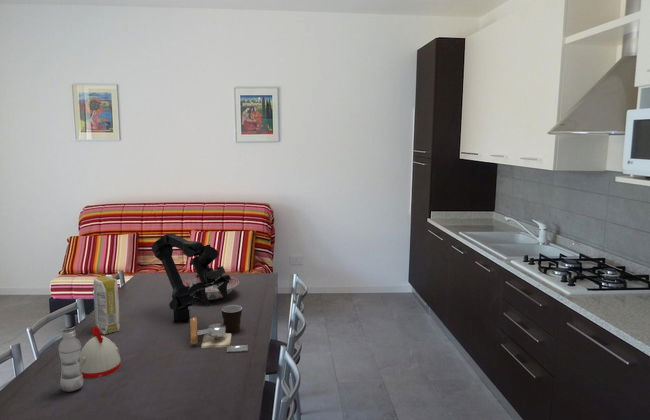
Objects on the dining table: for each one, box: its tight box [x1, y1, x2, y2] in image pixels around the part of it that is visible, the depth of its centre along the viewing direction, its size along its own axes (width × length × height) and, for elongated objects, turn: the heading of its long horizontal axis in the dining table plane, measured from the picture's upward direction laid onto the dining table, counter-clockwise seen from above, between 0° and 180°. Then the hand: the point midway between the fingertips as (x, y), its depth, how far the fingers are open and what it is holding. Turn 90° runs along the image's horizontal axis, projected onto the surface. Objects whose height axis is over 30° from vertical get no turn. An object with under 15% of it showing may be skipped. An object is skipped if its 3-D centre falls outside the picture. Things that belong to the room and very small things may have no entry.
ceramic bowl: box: [182, 275, 240, 301], centre depth 242 cm, size 29×29×8 cm
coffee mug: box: [221, 304, 243, 335], centre depth 201 cm, size 12×9×10 cm
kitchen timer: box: [80, 325, 122, 379], centre depth 165 cm, size 14×14×15 cm
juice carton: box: [92, 274, 121, 336], centre depth 197 cm, size 9×8×24 cm
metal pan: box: [189, 316, 226, 345], centre depth 187 cm, size 14×7×10 cm, turn 118°
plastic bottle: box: [57, 328, 84, 393], centre depth 151 cm, size 6×7×20 cm
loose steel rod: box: [226, 344, 249, 353], centre depth 181 cm, size 8×2×2 cm, turn 98°
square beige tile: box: [200, 333, 232, 349], centre depth 189 cm, size 11×11×3 cm
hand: (218, 303), depth 193 cm, fingers open, 9 cm apart
